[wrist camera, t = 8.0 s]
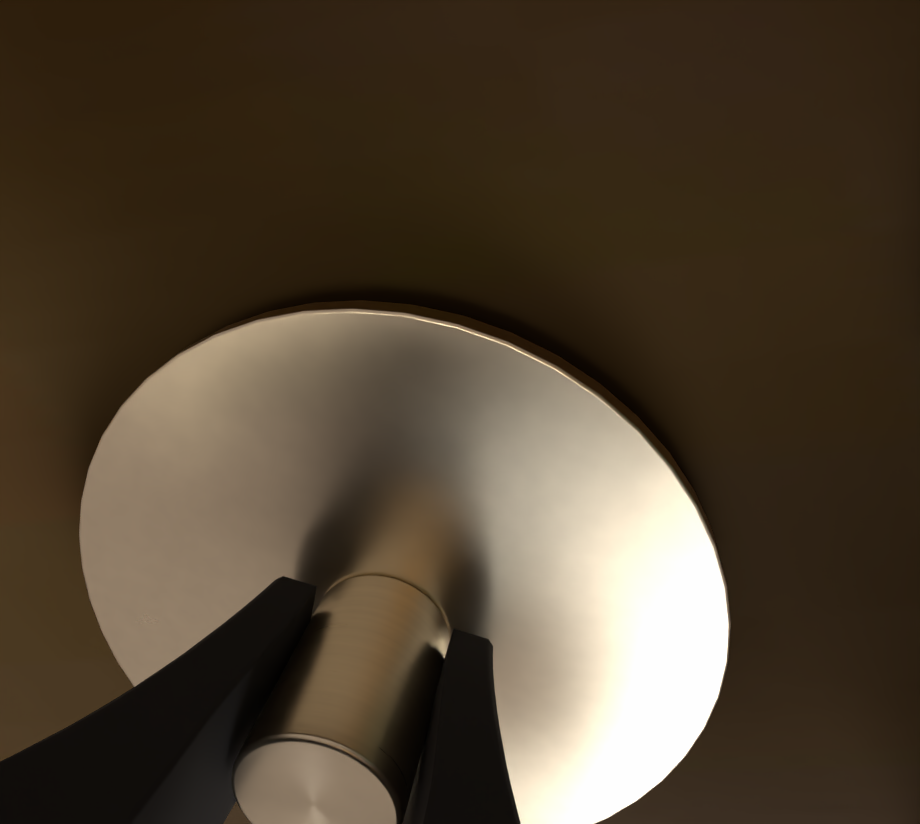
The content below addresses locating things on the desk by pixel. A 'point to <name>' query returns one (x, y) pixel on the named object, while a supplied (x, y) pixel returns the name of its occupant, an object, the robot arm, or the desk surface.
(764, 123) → the desk surface
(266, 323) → the canister lid
